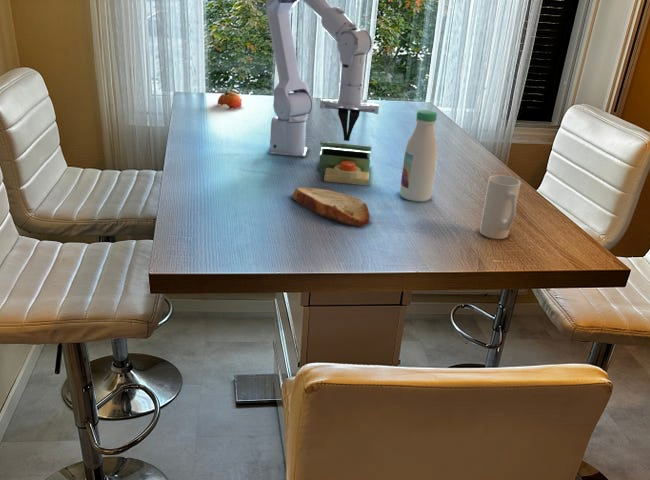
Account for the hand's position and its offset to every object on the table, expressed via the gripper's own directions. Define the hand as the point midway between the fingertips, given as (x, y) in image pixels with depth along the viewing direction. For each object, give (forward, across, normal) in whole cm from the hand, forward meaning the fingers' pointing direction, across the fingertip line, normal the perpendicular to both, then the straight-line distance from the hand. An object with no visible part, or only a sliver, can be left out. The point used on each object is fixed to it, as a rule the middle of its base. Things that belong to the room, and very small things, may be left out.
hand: (346, 139), depth 178 cm
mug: (+8, +35, -36) cm, 51 cm away
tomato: (+8, -40, +56) cm, 69 cm away
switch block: (+8, +1, -7) cm, 11 cm away
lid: (+2, 0, +1) cm, 3 cm away
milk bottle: (+8, +18, -15) cm, 25 cm away
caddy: (+8, 0, +1) cm, 8 cm away
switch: (+5, +1, -8) cm, 9 cm away
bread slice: (+8, -2, -30) cm, 31 cm away
